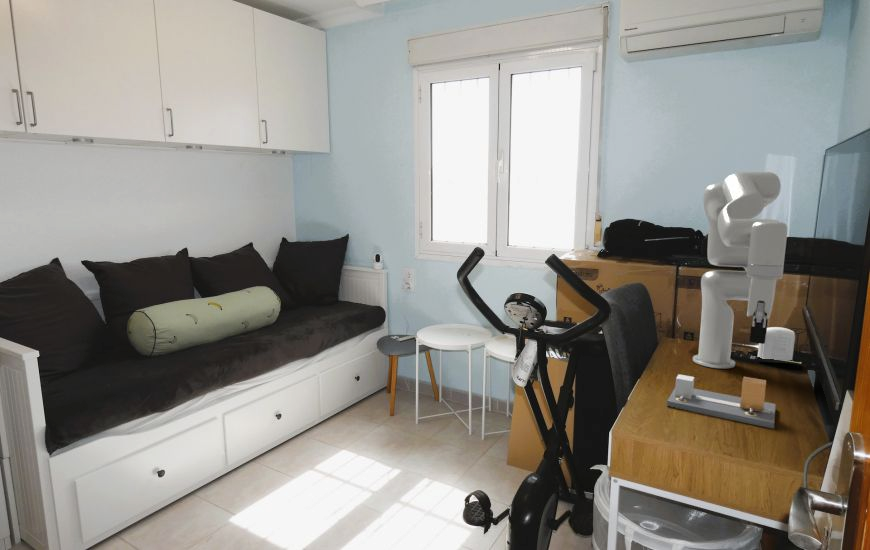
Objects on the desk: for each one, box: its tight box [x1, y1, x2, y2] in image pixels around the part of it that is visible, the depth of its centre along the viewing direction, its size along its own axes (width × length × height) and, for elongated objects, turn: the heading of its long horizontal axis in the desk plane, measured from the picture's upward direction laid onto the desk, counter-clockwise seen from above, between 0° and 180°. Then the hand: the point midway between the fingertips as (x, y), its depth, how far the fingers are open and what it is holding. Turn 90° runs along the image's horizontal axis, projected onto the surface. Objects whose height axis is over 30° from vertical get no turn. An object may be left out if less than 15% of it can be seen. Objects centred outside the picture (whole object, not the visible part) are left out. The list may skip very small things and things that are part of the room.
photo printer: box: [757, 326, 796, 361], centre depth 172 cm, size 10×4×12 cm, turn 81°
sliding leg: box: [740, 376, 767, 413], centre depth 130 cm, size 7×5×7 cm
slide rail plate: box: [666, 374, 776, 430], centre depth 136 cm, size 14×24×6 cm, turn 56°
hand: (758, 338), depth 130 cm, fingers open, 9 cm apart
